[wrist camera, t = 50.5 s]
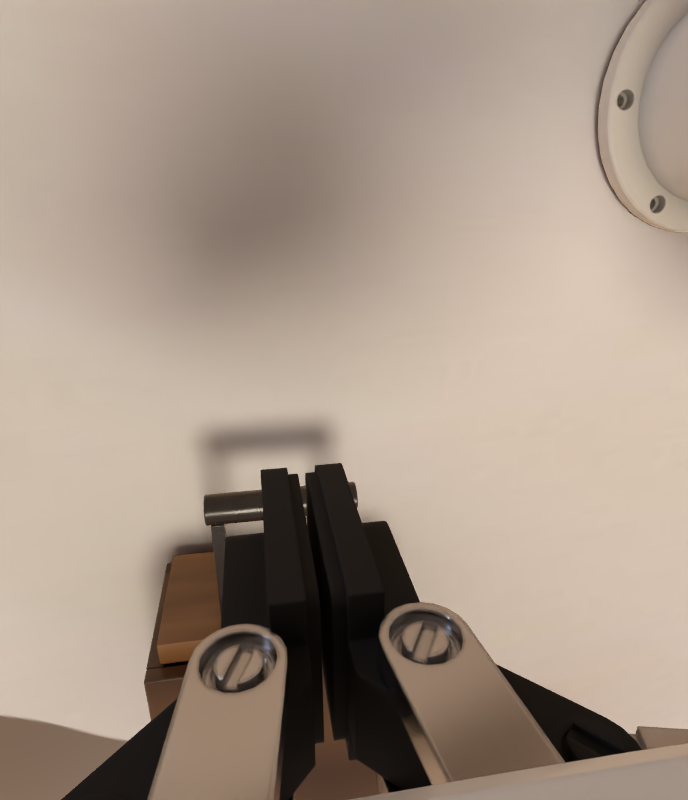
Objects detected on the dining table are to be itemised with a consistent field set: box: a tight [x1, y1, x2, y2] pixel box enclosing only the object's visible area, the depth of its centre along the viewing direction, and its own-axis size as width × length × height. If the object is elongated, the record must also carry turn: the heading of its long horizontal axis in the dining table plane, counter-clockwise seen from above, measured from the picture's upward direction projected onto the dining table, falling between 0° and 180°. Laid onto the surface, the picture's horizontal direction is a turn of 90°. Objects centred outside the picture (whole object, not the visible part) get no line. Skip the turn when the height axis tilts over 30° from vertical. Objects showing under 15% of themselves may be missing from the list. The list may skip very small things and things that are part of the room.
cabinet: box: [144, 564, 379, 800], centre depth 33 cm, size 15×14×9 cm
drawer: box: [157, 482, 358, 665], centre depth 32 cm, size 20×12×7 cm, turn 1°
